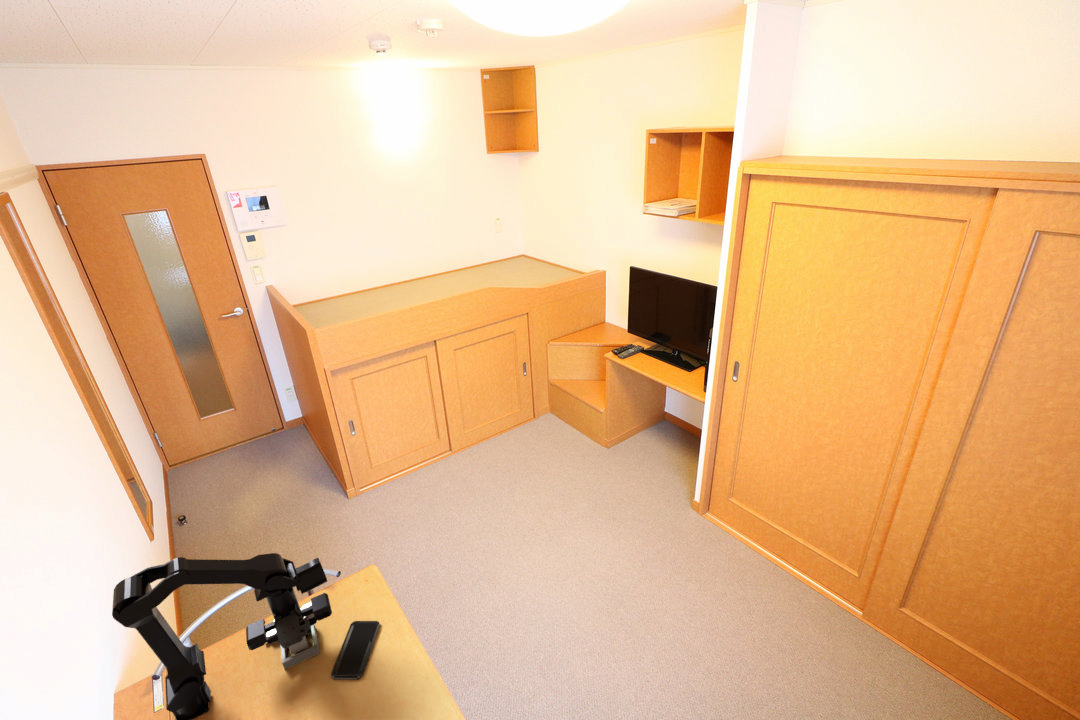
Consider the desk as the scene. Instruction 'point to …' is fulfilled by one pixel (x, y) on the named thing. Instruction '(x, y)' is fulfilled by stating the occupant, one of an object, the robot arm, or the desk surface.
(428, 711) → the desk surface
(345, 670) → the phone
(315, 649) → the frame
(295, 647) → the block
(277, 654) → the desk surface
